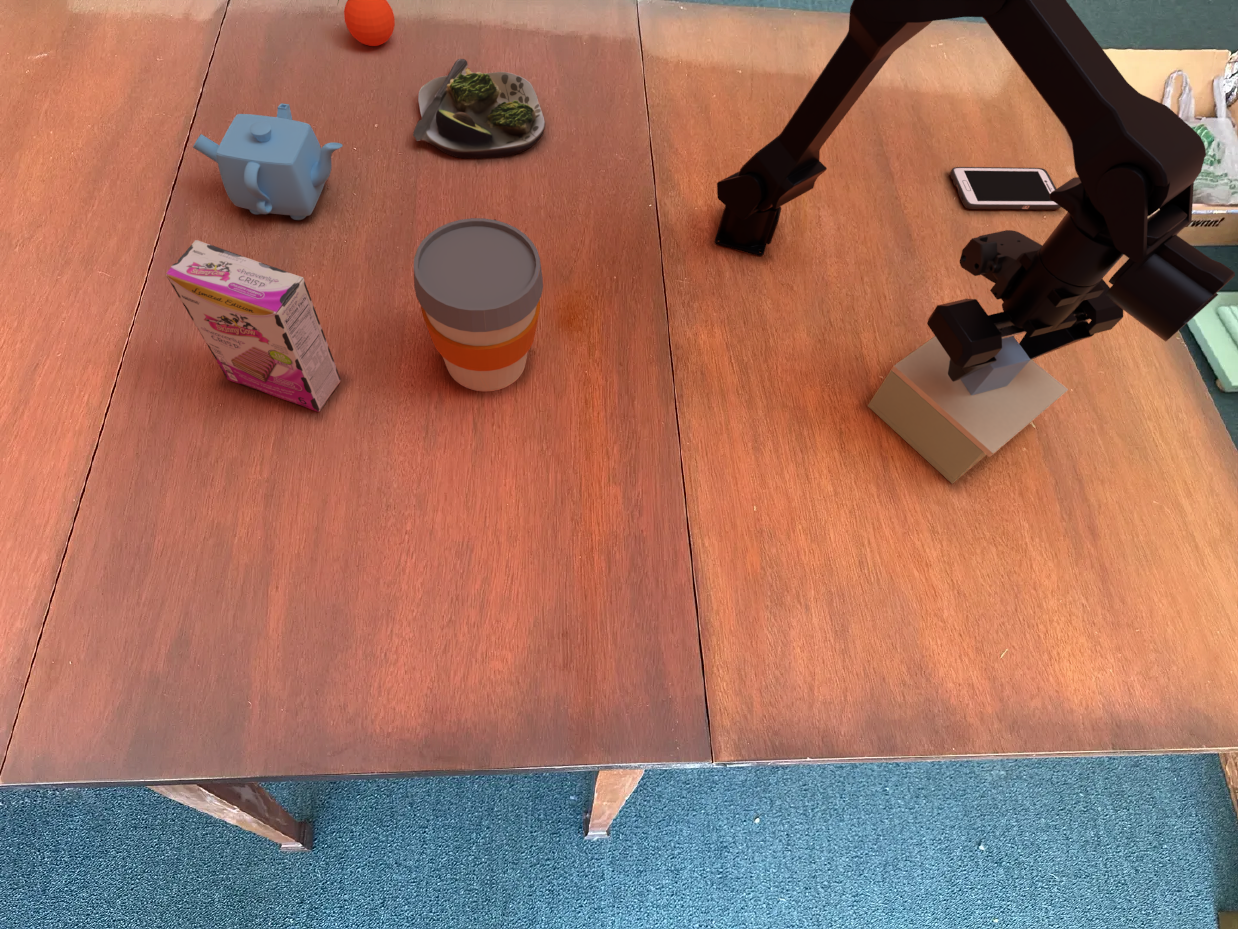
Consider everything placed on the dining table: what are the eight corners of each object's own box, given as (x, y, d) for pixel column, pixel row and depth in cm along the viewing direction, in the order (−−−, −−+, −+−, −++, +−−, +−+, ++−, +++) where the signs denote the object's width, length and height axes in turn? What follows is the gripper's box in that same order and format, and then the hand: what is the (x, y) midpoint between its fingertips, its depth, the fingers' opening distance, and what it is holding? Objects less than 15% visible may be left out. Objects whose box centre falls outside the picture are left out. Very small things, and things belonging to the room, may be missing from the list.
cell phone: (947, 171, 111) (950, 166, 110) (1041, 172, 113) (1045, 167, 112) (964, 210, 107) (967, 204, 106) (1062, 210, 109) (1066, 205, 108)
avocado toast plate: (404, 73, 111) (399, 42, 107) (528, 67, 114) (528, 36, 110) (417, 164, 102) (412, 134, 98) (551, 155, 105) (552, 125, 101)
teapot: (194, 223, 93) (159, 152, 85) (234, 146, 100) (206, 74, 92) (344, 243, 94) (325, 175, 85) (374, 166, 101) (359, 96, 92)
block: (971, 395, 81) (993, 369, 77) (948, 361, 83) (969, 334, 79) (1007, 386, 82) (1031, 359, 78) (983, 352, 84) (1005, 325, 80)
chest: (1024, 423, 90) (1058, 388, 84) (952, 484, 85) (983, 452, 79) (940, 351, 94) (967, 314, 88) (867, 405, 89) (890, 370, 83)
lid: (1064, 393, 84) (1068, 389, 83) (989, 457, 79) (993, 453, 78) (967, 314, 88) (971, 309, 88) (890, 369, 83) (893, 365, 82)
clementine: (335, 49, 112) (323, -1, 106) (351, 22, 116) (341, -28, 110) (389, 59, 112) (381, 10, 106) (404, 32, 116) (397, -17, 110)
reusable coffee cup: (493, 298, 92) (486, 198, 79) (565, 364, 88) (570, 269, 75) (405, 353, 87) (383, 255, 74) (478, 425, 83) (467, 334, 70)
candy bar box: (224, 382, 83) (160, 273, 68) (251, 348, 85) (194, 235, 71) (320, 416, 82) (275, 312, 67) (344, 380, 84) (305, 273, 70)
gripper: (1099, 184, 74) (1012, 296, 88) (935, 217, 70) (870, 329, 83) (1175, 268, 69) (1071, 373, 83) (1003, 309, 65) (923, 413, 78)
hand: (983, 369), depth 82 cm, fingers open, 8 cm apart
